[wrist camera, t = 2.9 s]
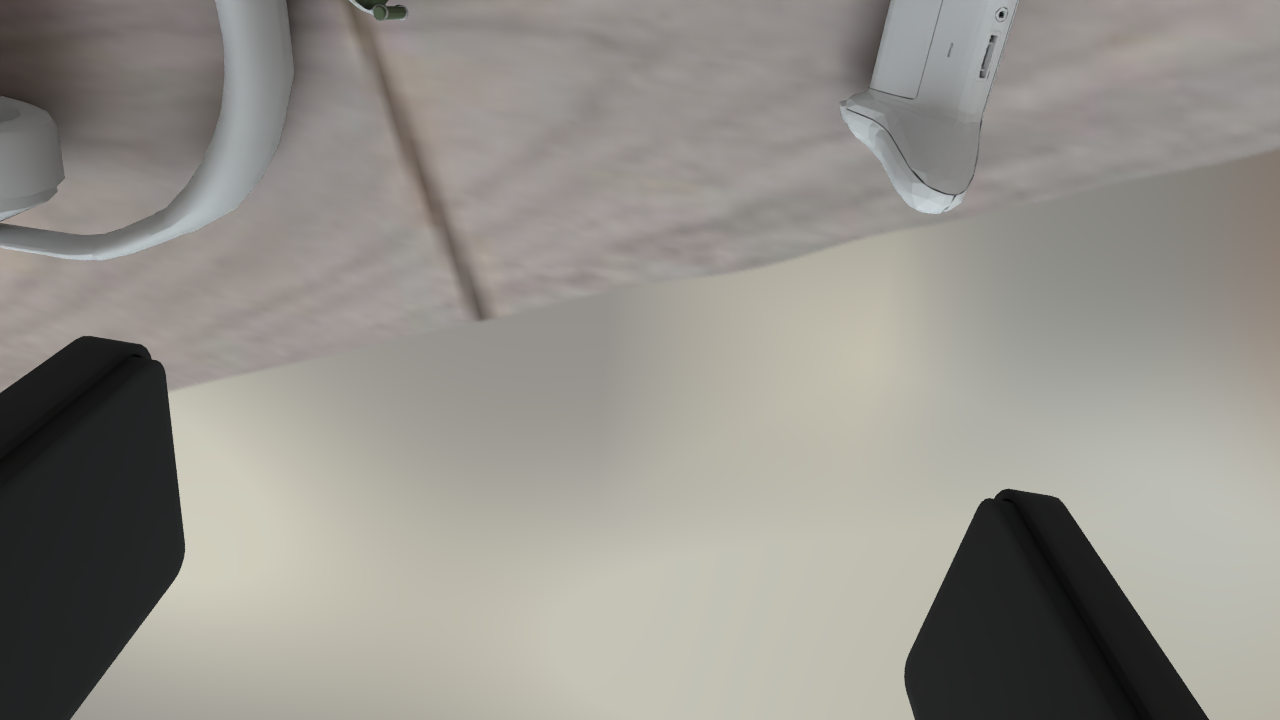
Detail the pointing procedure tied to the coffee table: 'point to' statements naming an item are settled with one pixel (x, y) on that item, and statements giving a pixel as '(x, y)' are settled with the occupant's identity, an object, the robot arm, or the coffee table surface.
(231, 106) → the headphones
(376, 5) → the grenade
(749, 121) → the coffee table surface
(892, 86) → the gaming controller
